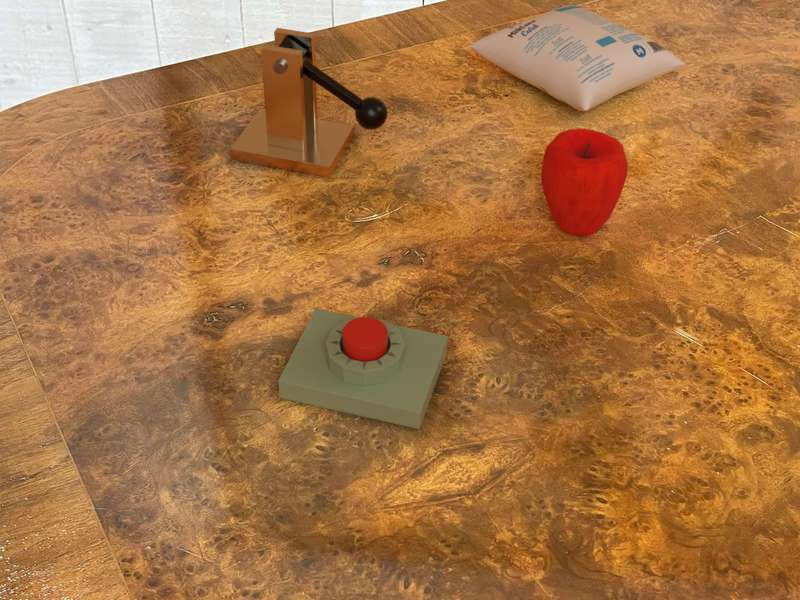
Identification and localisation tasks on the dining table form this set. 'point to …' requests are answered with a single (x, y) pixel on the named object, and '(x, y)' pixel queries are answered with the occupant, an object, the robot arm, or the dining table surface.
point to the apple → (583, 179)
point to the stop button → (365, 339)
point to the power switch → (291, 115)
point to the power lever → (344, 93)
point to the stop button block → (364, 371)
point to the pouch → (576, 56)
